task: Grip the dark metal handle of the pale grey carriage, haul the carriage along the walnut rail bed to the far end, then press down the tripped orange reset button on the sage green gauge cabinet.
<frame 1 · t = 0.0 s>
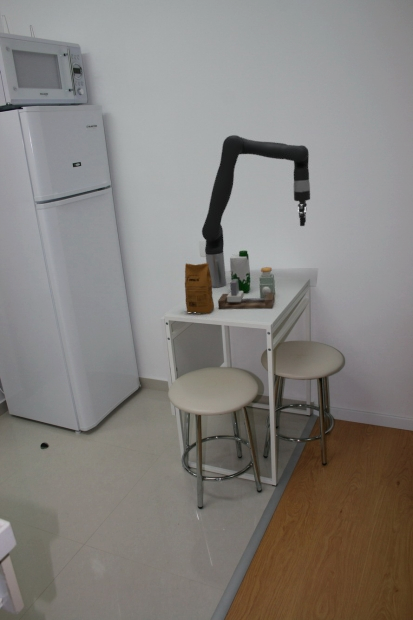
hand: (303, 224, 241), 29 cm above the table, tool pointing down, fingers open, 8 cm apart
milk carton: (241, 291, 247), on the table
reset button: (266, 272, 231), point 12 cm above the table, slide at 0.0 cm
carriage: (234, 290, 225), point 7 cm above the table, slide at 0.0 cm
gauge cabinet: (267, 296, 235), on the table
coffee package: (200, 311, 225), on the table
rail bed: (247, 305, 226), on the table
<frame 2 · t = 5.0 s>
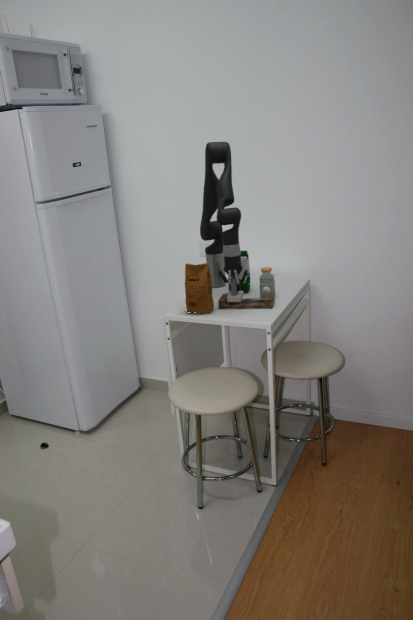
hand: (235, 291, 225), 7 cm above the table, tool pointing down, fingers closed on carriage, 2 cm apart
carriage: (234, 290, 225), point 7 cm above the table, slide at 0.0 cm, touching gripper
everything else where it was.
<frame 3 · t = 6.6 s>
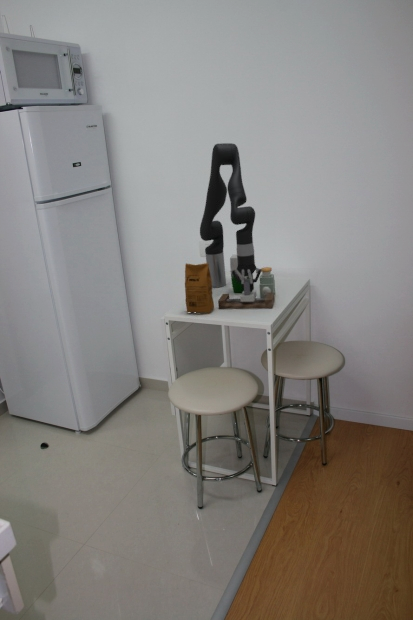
hand: (248, 291, 224), 7 cm above the table, tool pointing down, fingers closed on carriage, 2 cm apart
carriage: (248, 289, 223), point 7 cm above the table, slide at 6.0 cm, touching gripper
everything else where it was.
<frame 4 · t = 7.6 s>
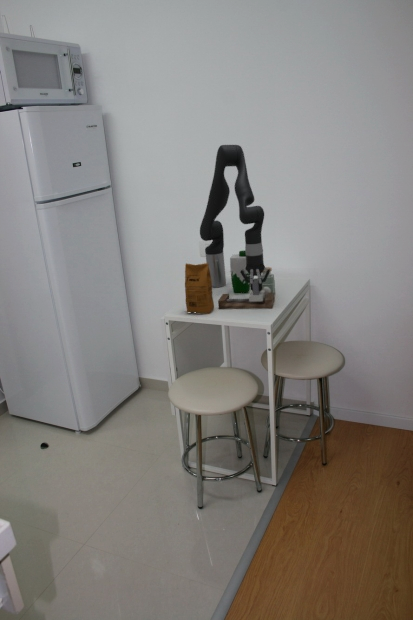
hand: (256, 290, 223), 7 cm above the table, tool pointing down, fingers closed on carriage, 2 cm apart
carriage: (256, 289, 222), point 7 cm above the table, slide at 9.8 cm, touching gripper
everything else where it was.
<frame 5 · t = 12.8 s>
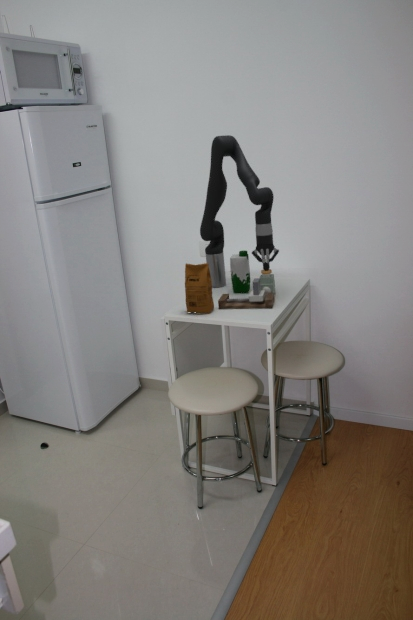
hand: (266, 270, 231), 13 cm above the table, tool pointing down, fingers closed
reset button: (266, 274, 232), point 11 cm above the table, slide at 0.9 cm, touching gripper
carriage: (256, 289, 222), point 7 cm above the table, slide at 9.9 cm
everything else where it was.
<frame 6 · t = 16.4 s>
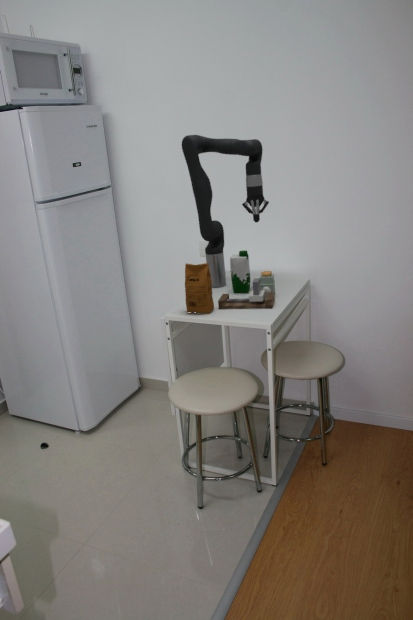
hand: (256, 222, 237), 33 cm above the table, tool pointing down, fingers closed
reset button: (266, 276, 232), point 10 cm above the table, slide at 1.8 cm
everything else where it was.
at the end: carriage slide at 9.9 cm; reset button slide at 1.8 cm; the gripper is holding nothing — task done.
